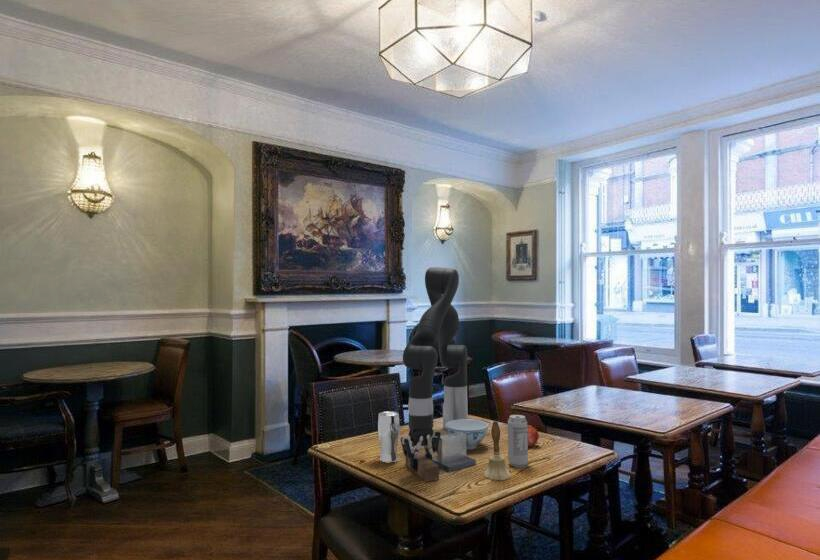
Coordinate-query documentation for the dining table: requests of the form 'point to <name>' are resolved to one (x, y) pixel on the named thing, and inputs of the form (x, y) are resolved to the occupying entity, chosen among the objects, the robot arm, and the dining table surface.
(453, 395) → the robot arm
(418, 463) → the walnut plank
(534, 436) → the pomegranate
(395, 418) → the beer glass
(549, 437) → the dining table surface
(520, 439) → the energy drink can
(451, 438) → the stand
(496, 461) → the hand bell
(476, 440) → the chinaware
